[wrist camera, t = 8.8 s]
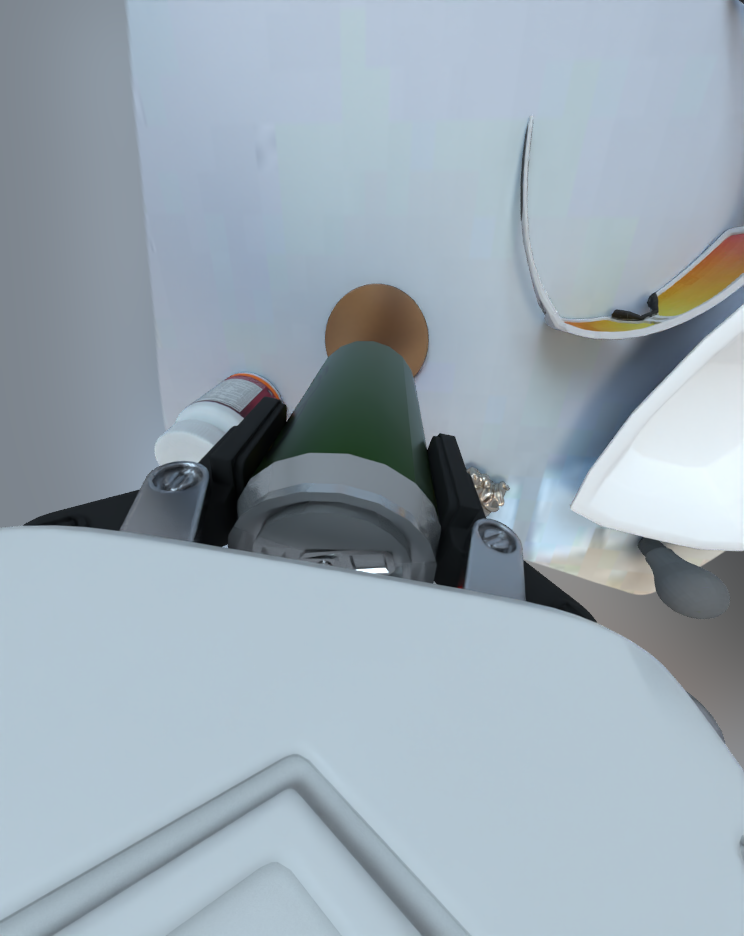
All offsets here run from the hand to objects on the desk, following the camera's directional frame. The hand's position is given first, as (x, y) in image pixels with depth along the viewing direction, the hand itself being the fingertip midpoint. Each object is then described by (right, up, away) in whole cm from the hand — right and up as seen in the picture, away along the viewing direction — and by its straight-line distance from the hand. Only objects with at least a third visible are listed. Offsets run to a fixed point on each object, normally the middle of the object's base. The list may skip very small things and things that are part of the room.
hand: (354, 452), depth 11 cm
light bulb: (+36, -10, +27) cm, 46 cm away
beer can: (0, +4, +6) cm, 7 cm away
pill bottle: (-11, +6, +19) cm, 23 cm away
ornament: (+12, -2, +24) cm, 27 cm away
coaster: (+1, +10, +15) cm, 18 cm away
